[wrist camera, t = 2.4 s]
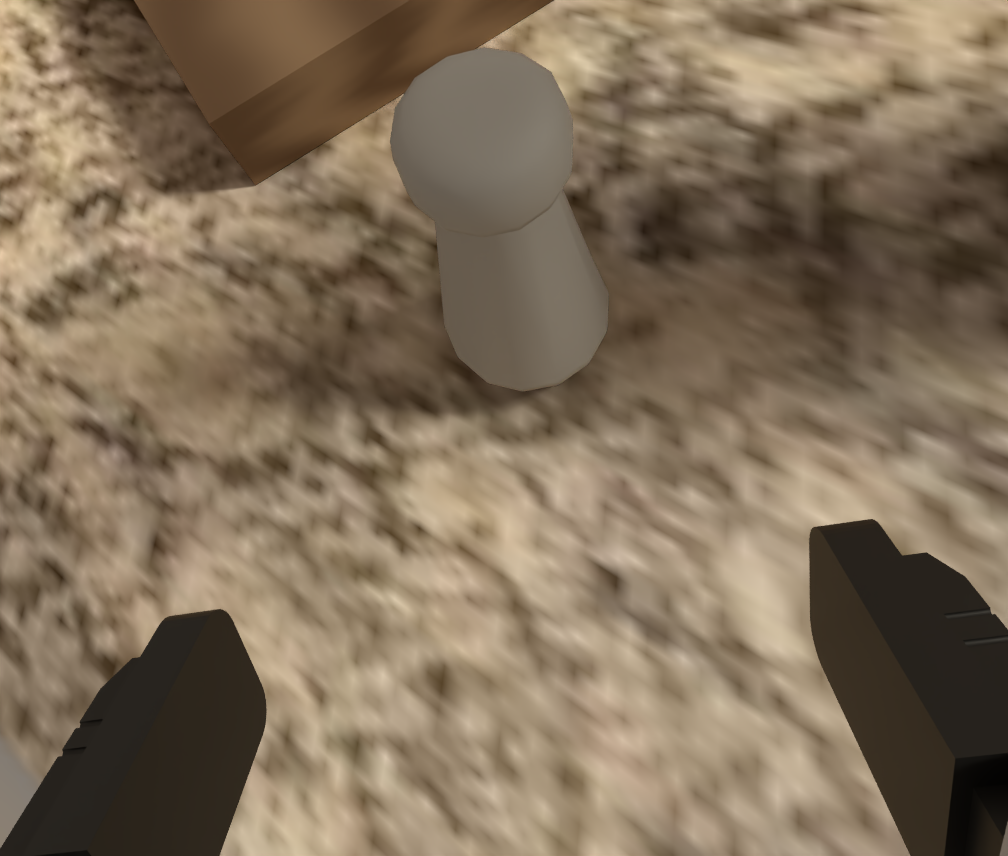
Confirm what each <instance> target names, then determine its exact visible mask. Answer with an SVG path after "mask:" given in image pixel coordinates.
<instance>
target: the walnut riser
mask: <svg viewBox="0 0 1008 856" xmlns="http://www.w3.org/2000/svg"><path fill="white" fill-rule="evenodd" d="M134 1H135V2H136V4H137V6H138V7H139V9H140V11H141V12H142V14H143V16H144V17H145V19H146V21H147V22H148V24H149V26H150V27H151V29H152V31H153V32H154V34H155V36H156V37H157V39H158V41H159V42H160V44H161V46H162V47H163V49H164V51H165V52H166V54H167V55H168V57H169V59H170V60H171V62H172V64H173V65H174V67H175V69H176V70H177V72H178V74H179V75H180V77H181V79H182V80H183V82H184V84H185V85H186V87H187V89H188V90H189V92H190V94H191V95H192V97H193V99H194V100H195V102H196V104H197V105H198V107H199V109H200V110H201V112H202V114H203V115H204V117H205V118H206V120H207V122H208V123H209V125H210V126H211V127H212V129H213V130H214V131H215V133H216V134H217V135H218V137H219V138H220V139H221V141H222V142H223V143H224V145H225V146H226V147H227V148H228V150H229V151H230V152H231V154H232V155H233V156H234V158H235V159H236V160H237V162H238V163H239V164H240V165H241V167H242V168H243V169H244V171H245V172H246V173H247V175H248V176H249V177H250V179H251V180H252V181H253V182H254V184H255V185H257V184H258V183H260V182H261V181H263V180H265V179H266V178H268V177H269V176H271V175H273V174H274V173H276V172H278V171H279V170H281V169H282V168H284V167H286V166H287V165H289V164H290V163H292V162H294V161H295V160H297V159H298V158H300V157H302V156H303V155H305V154H307V153H308V152H310V151H311V150H313V149H315V148H316V147H318V146H319V145H321V144H323V143H324V142H326V141H327V140H329V139H331V138H332V137H334V136H336V135H337V134H339V133H340V132H342V131H344V130H345V129H347V128H348V127H350V126H352V125H353V124H355V123H356V122H358V121H360V120H361V119H363V118H364V117H366V116H368V115H369V114H371V113H373V112H374V111H376V110H377V109H379V108H381V107H382V106H384V105H385V104H387V103H389V102H390V101H392V100H393V99H395V98H397V97H398V96H400V95H402V94H403V93H405V92H406V90H407V89H408V87H409V86H410V84H411V83H412V81H413V80H414V78H415V77H417V76H418V75H420V74H421V73H423V72H424V71H426V70H427V69H429V68H430V67H432V66H433V65H435V64H437V63H438V62H440V61H441V60H443V59H444V58H446V57H447V56H451V55H455V54H459V53H463V52H468V51H472V50H474V49H476V48H477V47H479V46H480V45H482V44H484V43H485V42H487V41H488V40H490V39H492V38H493V37H495V36H497V35H498V34H500V33H501V32H503V31H505V30H506V29H508V28H509V27H511V26H513V25H514V24H516V23H517V22H519V21H521V20H522V19H524V18H526V17H527V16H529V15H530V14H532V13H534V12H535V11H537V10H538V9H540V8H542V7H543V6H545V5H546V4H548V3H550V2H551V1H553V0H134Z"/></svg>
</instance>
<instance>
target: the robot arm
mask: <svg viewBox="0 0 1008 856" xmlns="http://www.w3.org/2000/svg"><path fill="white" fill-rule="evenodd" d="M809 558H810V622H811V630H812V635H813V640H814V644H815V648H816V652H817V655H818V658H819V661H820V663H821V666H822V668H823V670H824V672H825V674H826V676H827V679H828V681H829V683H830V685H831V687H832V689H833V691H834V694H835V696H836V698H837V700H838V702H839V704H840V706H841V708H842V711H843V713H844V715H845V717H846V719H847V721H848V723H849V725H850V728H851V730H852V732H853V734H854V736H855V738H856V740H857V743H858V745H859V747H860V749H861V751H862V753H863V755H864V757H865V760H866V762H867V764H868V766H869V768H870V770H871V772H872V774H873V777H874V779H875V781H876V783H877V785H878V787H879V789H880V792H881V794H882V796H883V798H884V800H885V802H886V804H887V806H888V809H889V811H890V813H891V815H892V817H893V819H894V821H895V823H896V826H897V828H898V830H899V832H900V834H901V836H902V838H903V841H904V843H905V845H906V847H907V849H908V851H909V853H910V855H911V856H1008V629H1007V628H1006V627H1005V626H1004V624H1003V623H1002V622H1001V621H1000V619H999V618H998V617H997V616H996V614H993V615H992V613H991V611H990V607H989V606H988V605H987V603H986V602H985V601H984V600H983V598H982V597H981V596H980V595H979V593H978V592H977V591H976V590H975V588H974V587H973V586H972V585H971V583H970V582H969V581H968V580H967V578H966V577H965V576H963V575H962V574H960V573H959V572H957V571H955V570H954V569H952V568H950V567H949V566H947V565H946V564H944V563H942V562H941V561H939V560H938V559H936V558H934V557H933V556H931V555H930V554H928V553H919V554H912V555H904V556H902V555H901V554H900V552H899V551H898V549H897V548H896V547H895V545H894V544H893V542H892V541H891V540H890V538H889V537H888V535H887V534H886V533H885V531H884V530H883V528H882V527H881V526H880V525H879V523H878V522H877V521H875V520H873V519H868V520H861V521H854V522H847V523H840V524H833V525H826V526H819V527H813V528H812V530H811V532H810V538H809ZM265 723H266V699H265V693H264V690H263V687H262V684H261V682H260V680H259V677H258V675H257V673H256V671H255V669H254V666H253V664H252V662H251V660H250V658H249V655H248V653H247V651H246V649H245V647H244V644H243V642H242V640H241V638H240V636H239V633H238V631H237V629H236V627H235V625H234V622H233V620H232V618H231V617H230V615H229V614H228V613H227V612H226V611H224V610H221V609H217V610H210V611H203V612H196V613H189V614H182V615H175V616H169V617H167V618H165V619H164V620H163V621H162V622H161V623H160V625H159V626H158V628H157V630H156V631H155V633H154V635H153V636H152V638H151V640H150V641H149V643H148V645H147V647H146V648H145V650H144V652H143V653H142V655H141V657H139V658H132V659H131V660H130V661H129V662H128V663H127V664H126V665H125V666H124V667H123V668H122V669H121V670H120V671H119V672H118V673H117V674H115V675H114V676H113V677H112V678H111V679H110V680H109V681H108V682H107V683H106V684H105V685H104V686H103V687H102V688H101V689H100V690H99V692H98V694H97V695H96V697H95V698H94V700H93V702H92V703H91V705H90V706H89V708H88V710H87V711H86V713H85V714H84V716H83V718H82V719H81V721H80V728H76V729H75V730H74V732H73V733H72V735H71V737H70V738H69V740H68V741H67V743H66V745H65V746H64V748H63V749H62V750H63V755H62V756H60V757H57V759H56V761H55V762H54V764H53V765H52V767H51V769H50V770H49V772H48V773H47V775H46V777H45V778H44V780H43V781H42V783H41V785H40V786H39V788H38V789H37V791H36V792H35V794H34V796H33V797H32V799H31V801H30V802H29V804H28V805H27V807H26V808H25V810H24V812H23V813H22V815H21V816H20V818H19V820H18V821H17V823H16V824H15V826H14V828H13V829H12V831H11V833H10V834H9V836H8V837H7V839H6V840H5V842H4V844H3V845H2V847H1V848H0V856H219V855H220V852H221V850H222V847H223V844H224V841H225V839H226V836H227V833H228V830H229V827H230V825H231V822H232V819H233V816H234V813H235V811H236V808H237V805H238V802H239V800H240V797H241V794H242V791H243V788H244V786H245V783H246V780H247V777H248V774H249V772H250V769H251V766H252V763H253V761H254V758H255V755H256V752H257V749H258V747H259V744H260V741H261V738H262V736H263V732H264V728H265Z"/></svg>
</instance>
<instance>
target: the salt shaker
mask: <svg viewBox="0 0 1008 856" xmlns="http://www.w3.org/2000/svg"><path fill="white" fill-rule="evenodd" d="M390 144H391V150H392V156H393V160H394V163H395V165H396V167H397V170H398V172H399V174H400V177H401V179H402V181H403V184H404V186H405V188H406V191H407V193H408V194H409V196H410V198H411V199H412V201H413V203H414V205H415V206H416V207H418V208H419V209H420V210H421V211H423V212H424V213H425V214H426V215H428V216H429V217H430V218H431V219H433V220H434V221H435V226H436V238H437V249H438V260H439V271H440V283H441V294H442V305H443V316H444V326H445V329H446V331H447V333H448V336H449V338H450V340H451V343H452V345H453V347H454V350H455V352H456V354H457V357H458V358H459V359H460V360H462V361H463V362H464V363H465V364H466V365H467V366H468V367H470V368H471V369H472V370H473V371H474V372H475V373H476V374H478V375H479V376H480V377H481V378H482V379H483V380H485V381H486V382H487V383H488V384H493V385H497V386H501V387H505V388H510V389H514V390H518V391H529V390H534V389H540V388H545V387H550V386H556V385H559V384H561V383H562V382H564V381H565V380H566V379H568V378H569V377H571V376H572V375H574V374H575V373H576V372H578V371H579V370H581V369H582V368H584V367H585V366H586V365H588V364H589V362H590V361H591V359H592V357H593V355H594V354H595V352H596V350H597V348H598V347H599V345H600V343H601V341H602V340H603V338H604V336H605V334H606V332H607V328H608V305H609V292H608V290H607V288H606V286H605V284H604V282H603V280H602V277H601V275H600V273H599V271H598V269H597V267H596V265H595V263H594V261H593V258H592V256H591V254H590V252H589V249H588V247H587V245H586V242H585V240H584V238H583V235H582V233H581V230H580V228H579V226H578V223H577V221H576V219H575V216H574V214H573V212H572V209H571V207H570V204H569V202H568V200H567V197H566V195H565V193H564V190H563V187H564V185H565V184H566V182H567V181H568V179H569V177H570V174H571V172H572V153H573V119H572V116H571V113H570V111H569V108H568V105H567V103H566V100H565V98H564V96H563V94H562V92H561V90H560V88H559V86H558V84H557V82H556V80H555V79H554V77H553V75H552V73H551V71H549V70H547V69H546V68H544V67H543V66H541V65H539V64H538V63H536V62H535V61H533V60H532V59H530V58H528V57H527V56H525V55H524V54H522V53H517V52H511V51H504V50H498V49H492V48H485V47H484V48H480V49H476V50H472V51H468V52H463V53H459V54H455V55H451V56H447V57H446V58H444V59H443V60H441V61H440V62H438V63H437V64H435V65H433V66H432V67H430V68H429V69H427V70H426V71H424V72H423V73H421V74H420V75H418V76H417V77H415V78H414V80H413V81H412V83H411V84H410V86H409V87H408V89H407V90H406V92H405V93H404V95H403V97H402V98H401V100H400V101H399V103H398V104H397V106H396V107H395V111H394V118H393V125H392V132H391V138H390Z"/></svg>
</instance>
